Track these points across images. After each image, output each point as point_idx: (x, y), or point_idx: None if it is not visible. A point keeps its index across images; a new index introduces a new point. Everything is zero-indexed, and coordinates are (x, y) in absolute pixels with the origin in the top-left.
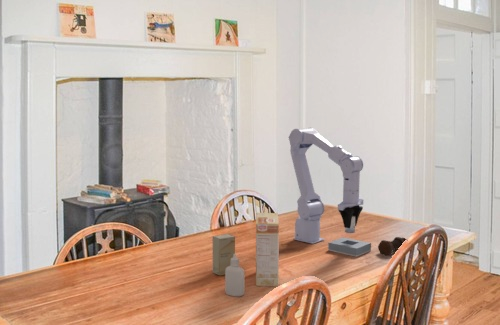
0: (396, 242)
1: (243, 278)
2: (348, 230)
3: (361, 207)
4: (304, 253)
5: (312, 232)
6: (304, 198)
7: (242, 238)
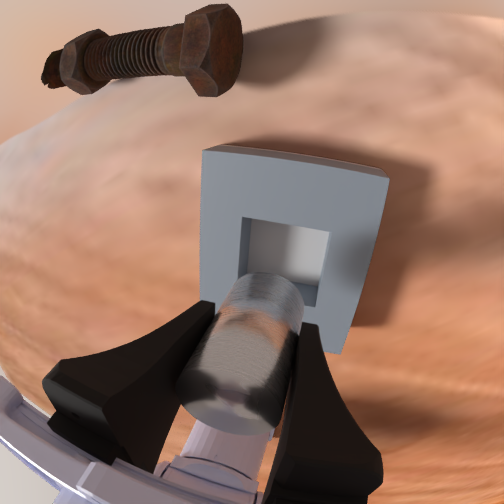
0: (119, 38)
1: None
2: (301, 317)
3: (73, 393)
4: (421, 377)
5: None
6: None
7: None
